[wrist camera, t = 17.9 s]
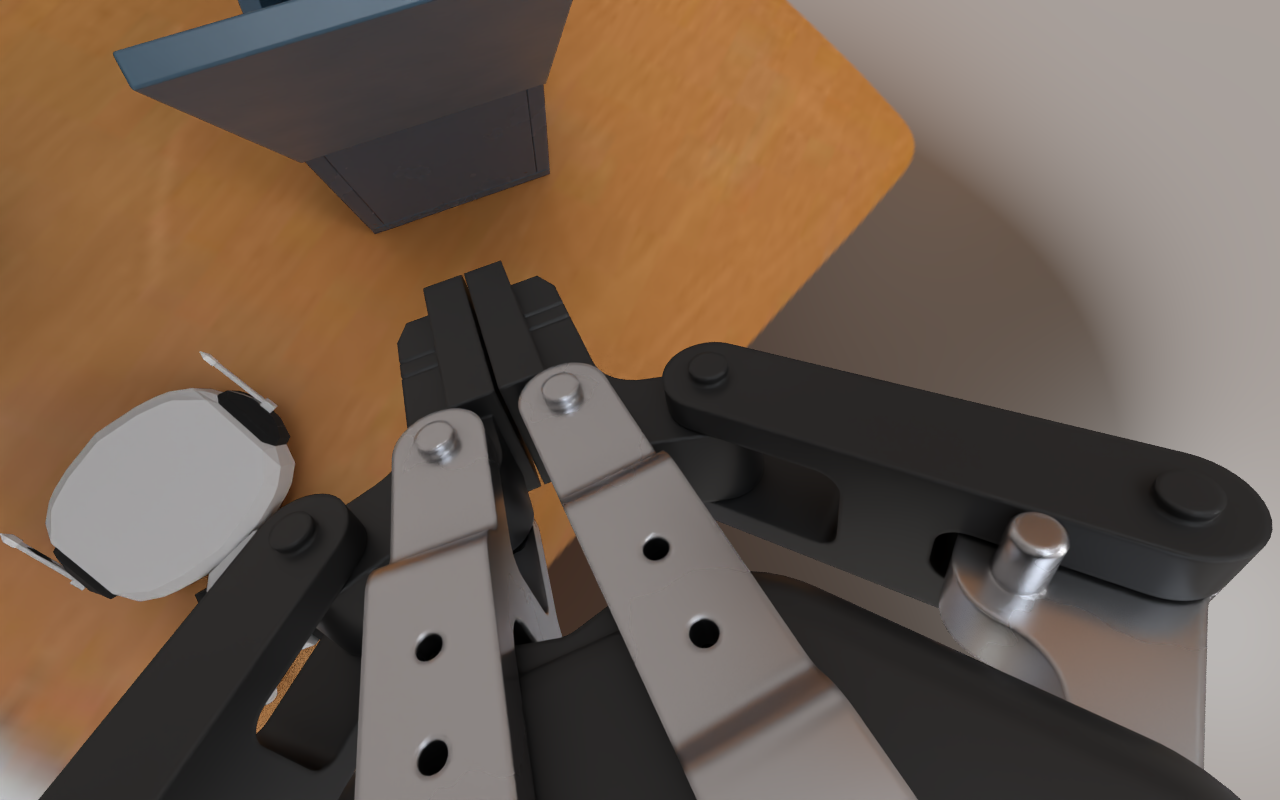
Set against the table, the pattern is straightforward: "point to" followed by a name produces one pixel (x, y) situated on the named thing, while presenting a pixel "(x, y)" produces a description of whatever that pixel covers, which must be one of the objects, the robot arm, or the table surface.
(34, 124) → the table surface
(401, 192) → the caddy
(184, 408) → the robot toy
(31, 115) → the table surface
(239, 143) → the table surface
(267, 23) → the lid
